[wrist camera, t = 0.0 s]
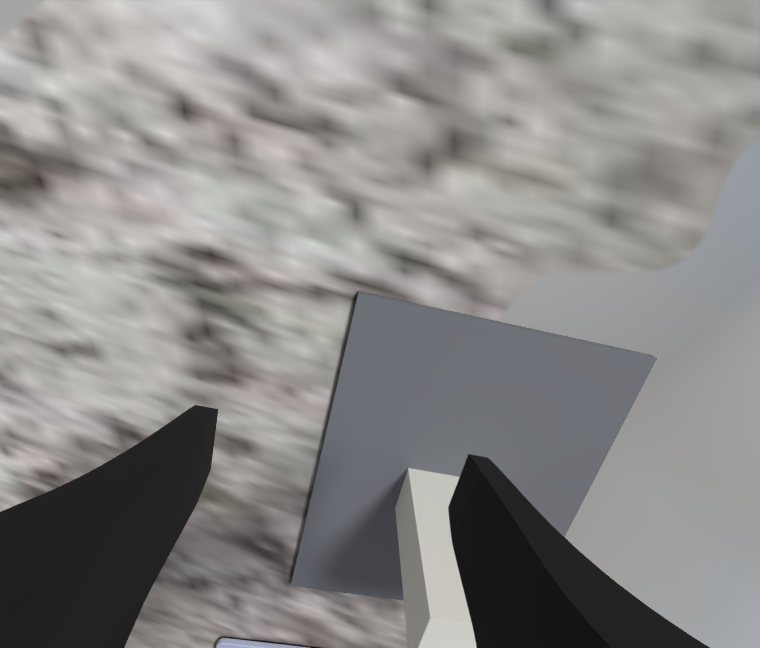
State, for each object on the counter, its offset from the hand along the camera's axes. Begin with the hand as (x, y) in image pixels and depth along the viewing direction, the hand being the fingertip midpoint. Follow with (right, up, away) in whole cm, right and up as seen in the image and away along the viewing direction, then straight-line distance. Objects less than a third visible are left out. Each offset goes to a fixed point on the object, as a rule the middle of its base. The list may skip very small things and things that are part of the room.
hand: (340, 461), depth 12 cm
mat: (+5, -5, +13) cm, 15 cm away
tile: (+5, -6, +13) cm, 15 cm away
